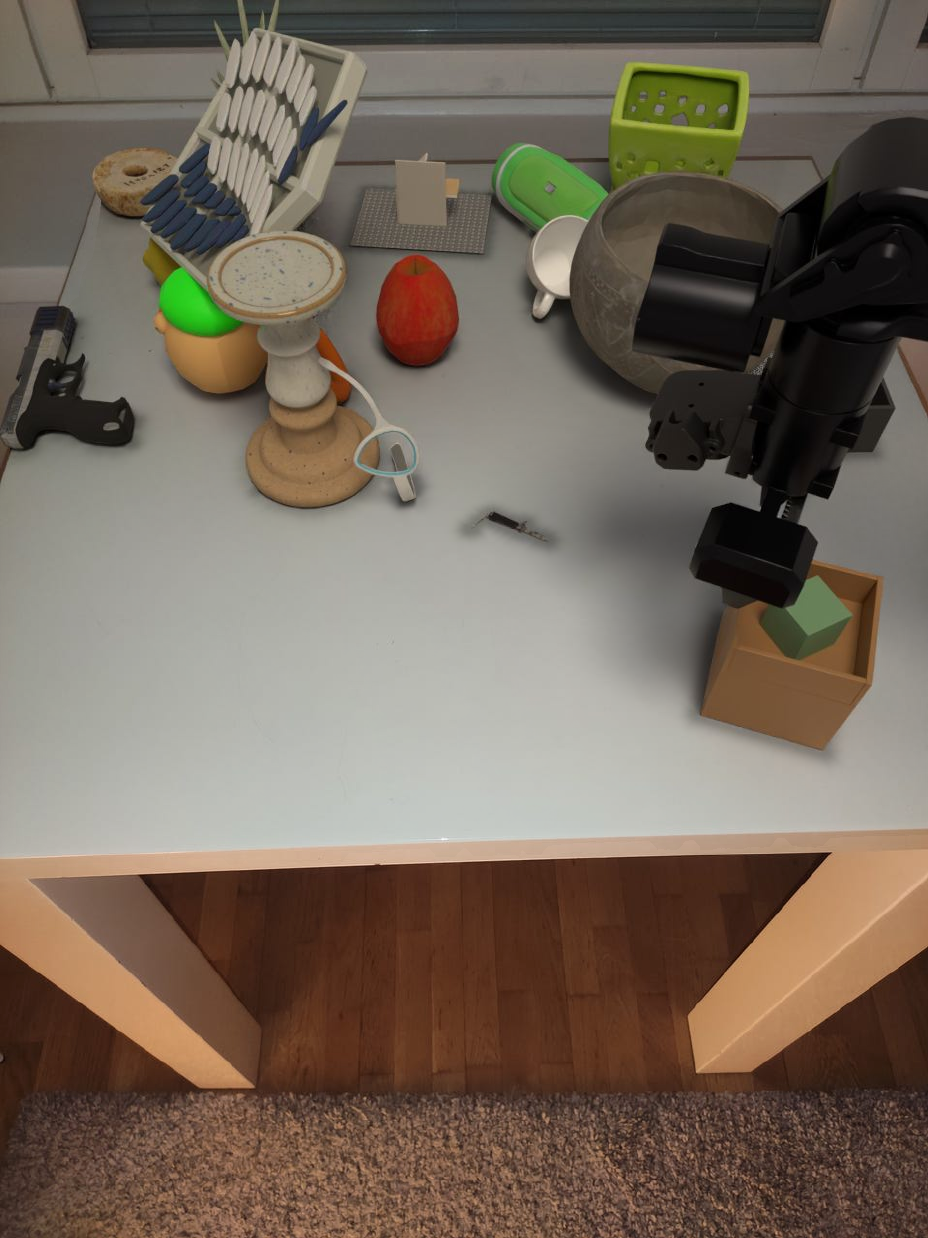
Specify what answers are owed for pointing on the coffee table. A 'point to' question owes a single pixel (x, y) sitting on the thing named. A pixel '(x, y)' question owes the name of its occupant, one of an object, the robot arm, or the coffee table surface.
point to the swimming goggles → (403, 471)
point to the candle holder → (294, 366)
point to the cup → (553, 260)
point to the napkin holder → (423, 212)
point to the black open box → (875, 420)
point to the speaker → (543, 186)
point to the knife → (512, 524)
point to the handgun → (37, 380)
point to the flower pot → (670, 145)
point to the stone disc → (130, 178)
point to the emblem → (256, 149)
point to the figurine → (206, 338)
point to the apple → (417, 311)
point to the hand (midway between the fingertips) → (749, 554)
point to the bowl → (625, 253)
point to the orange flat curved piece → (330, 353)
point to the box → (796, 667)
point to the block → (807, 621)
